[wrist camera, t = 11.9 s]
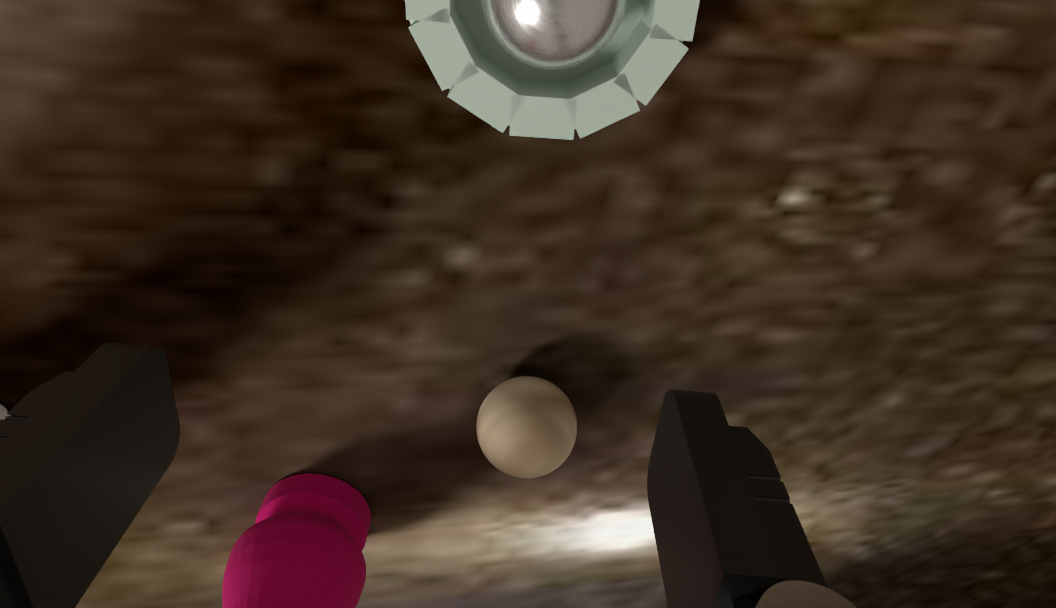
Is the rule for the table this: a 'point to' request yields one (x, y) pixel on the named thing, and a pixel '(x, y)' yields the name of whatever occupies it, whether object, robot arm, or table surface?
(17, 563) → the robot arm
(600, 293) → the table surface
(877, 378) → the table surface
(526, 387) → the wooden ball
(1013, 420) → the table surface
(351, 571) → the pepper mill
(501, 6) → the steel ball
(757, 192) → the table surface
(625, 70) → the ring cup
